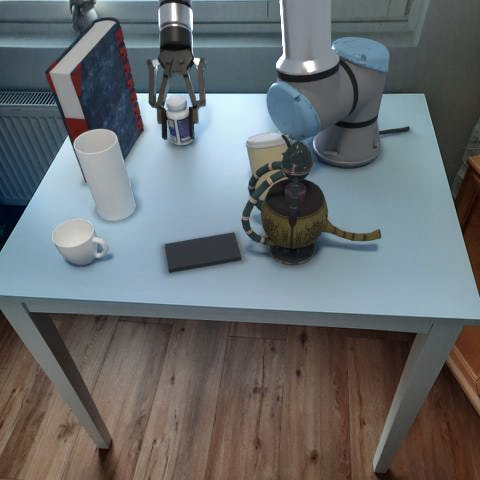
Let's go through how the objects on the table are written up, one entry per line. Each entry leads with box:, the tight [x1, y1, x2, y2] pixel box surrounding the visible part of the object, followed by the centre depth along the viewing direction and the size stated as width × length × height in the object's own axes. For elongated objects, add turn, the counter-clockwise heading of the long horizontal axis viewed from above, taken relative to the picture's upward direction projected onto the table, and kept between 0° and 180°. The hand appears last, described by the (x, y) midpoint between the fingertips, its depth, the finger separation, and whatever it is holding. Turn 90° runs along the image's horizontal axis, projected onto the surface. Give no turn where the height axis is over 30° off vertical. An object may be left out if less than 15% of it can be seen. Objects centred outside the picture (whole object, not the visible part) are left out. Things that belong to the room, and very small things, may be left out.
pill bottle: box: [165, 95, 194, 146], centre depth 111 cm, size 6×6×10 cm
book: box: [44, 16, 145, 184], centre depth 104 cm, size 25×7×25 cm, turn 167°
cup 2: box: [51, 218, 109, 266], centre depth 89 cm, size 8×10×7 cm
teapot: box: [240, 135, 382, 266], centre depth 82 cm, size 12×25×23 cm, turn 82°
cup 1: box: [74, 129, 137, 222], centre depth 95 cm, size 8×8×16 cm
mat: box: [164, 231, 242, 274], centre depth 91 cm, size 14×7×1 cm, turn 101°
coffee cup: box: [245, 130, 292, 201], centre depth 98 cm, size 9×9×12 cm
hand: (178, 138), depth 110 cm, fingers closed on pill bottle, 6 cm apart
